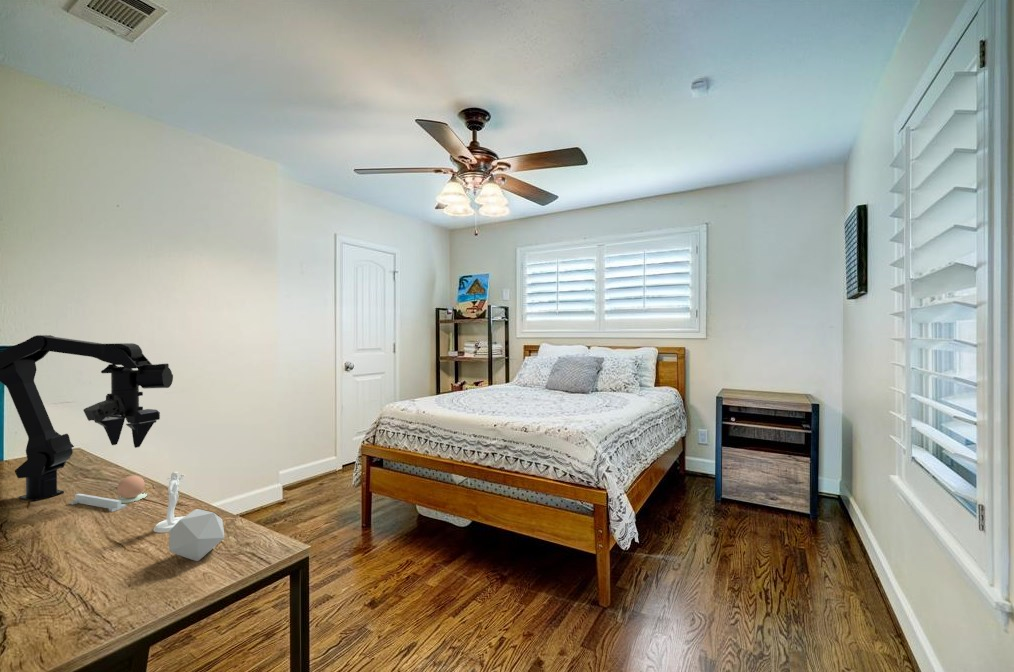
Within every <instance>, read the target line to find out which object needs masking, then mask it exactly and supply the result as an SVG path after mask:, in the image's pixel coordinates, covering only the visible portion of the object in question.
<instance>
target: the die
mask: <svg viewBox="0 0 1014 672" xmlns="http://www.w3.org/2000/svg"><path fill="white" fill-rule="evenodd" d="M224 530H225V529H224V522H223V519H222V518H221V517H220V516H218V514H216V513H215V512H212V511H209V510H203V509H200V508H196V509H194V510H192V511H191V512H190V513H188V514H186V515H185V517H183V518H182V519H180V520H179V521H178V522H177V523H176V525H175V526H174V527H173V528H172V529H171V530H170V531H169V532H168V533H169V536H168V552H170V553H173V554H175V555H178V556H179V557H183V558H185V559H188V560H191V561H195V562H199V561H200V560H201V559H203V558H204V557H205V556H206V555H207V554H208V553H209V552H211V551H212V550H213V549H214V548H216V546H217V545H218V544H219V543H220V542H221V541H223V540H224V539H225V531H224Z"/></svg>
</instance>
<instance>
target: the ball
mask: <svg viewBox="0 0 1014 672" xmlns="http://www.w3.org/2000/svg"><path fill="white" fill-rule="evenodd" d="M145 488H146V483H145V480H144V479H143V477H141V476H138V475H130V476H127V477H125V478H123V479H122V480H121V481H120V482H118V485H117V487H116V491H117V494H118V495H119V496H120V497H123V498H133V497H136V496H138V495H139V494H141V493H143V491H144V490H145Z"/></svg>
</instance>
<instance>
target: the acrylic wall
mask: <svg viewBox="0 0 1014 672" xmlns="http://www.w3.org/2000/svg"><path fill="white" fill-rule="evenodd" d="M74 497H75V498H74V500H71V501H69V504H70V505H73V506H74V505H76V504H81V505H89V506H92V507H93V506H94V507H98V508H105V509H108V512H111V513H113V512H116V511H119V510H122V509H125V508H127V504H126V503H122V504H121V501H120V500H116V498H115V499H114V498H109V497H108V498H107V497H103V496H96V495H91V494H83V493H76V494H75V495H74Z"/></svg>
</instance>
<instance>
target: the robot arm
mask: <svg viewBox="0 0 1014 672" xmlns="http://www.w3.org/2000/svg"><path fill="white" fill-rule="evenodd" d="M49 352H52V353H53V352H54V353H60V354H69V355H76V356H77V355H78V356H82V357H91V358H95V359H98V360H99V361H101V362H104V363H107V364H108V365H107V366H106V367H105V368H104V369H102V370H101V371H100V373H101V374H110V379H111V380H110V382H111V383H110V388H111V389H110V390H111V391H110V393H106V396H105V400H102V401H100V402H99V401H98V402H96V403H95V404H92V405H90V406H88V407H86V408H84V409H82V410H83V412H84V415H85V417H86V419H87V420H88V421H89V422H91V421H93V422H94V423H96V424H98V425H100V426H102V427H103V429H104V430H105V432H106V435H107V437H108V439H109V442H110V444H111V446H116V445H118V443H119V441H120V436H121V433H122V430H123V428H124V427H123V426H124V423H125V420H126V422H127V423H126V424H125V426H126V427H128V428H130V429H131V434H132V442H133V446H134V448H135V449H136V448H140V447H141V445H142V443H143V442H144V440H145V439H146V436H147V435H148V434H149V433H148V432H149V431H150V430H151V429H152V427H153V426H154V424H155V423H156V422H157V421H159V420H161V415H160V414H161V413H160V411H159V410H158V409H155V408H154V409H151V408H145V409H144V408H143V406H140V396H143V395H144V392H143V391H140V387H141V388H142V389H168V388H170V387H171V386H172V385H173V384H172V383H173V382H174V381H173V380H174V374H173V372H172V370H171V368H170V365H169V363H158V364H157V363H156V364H155V363H154V364H152V363H151V361H150V360H149V359H148V358H147V357H146V356H145V355H144V353H143V349H142V348H141V347H140V346H139V345H138V344H136V343H132V342H131V343H125V342H124V343H123V342H121V343H119V342H118V343H117V342H116V343H102V342H101V343H99V342H94V341H86V340H79V339H72V338H67V337H59V336H58V337H57V336H53V335H48V334H47V335H46V334H44V335H43V334H42V335H41V334H40V335H39V334H37V335H34V336H31V337H30V338H29V339H26V340H25V341H21V342H20V343H17V344H15V345H12V346H9V347H7V348H5V349H3V350H0V383H1V384H2V385H3V386H5V387H6V388H7V390H8V392H9V395H10V398H11V400H12V402H13V405H14V407H15V409H16V412H17V414H18V417H19V419H20V421H21V424H22V426H23V428H24V431H25V432H26V436H27V437H28V440H27V443H26V447H25V454H26V460H25V461H24V462H23V463H21V464H20V465H19V466H18V467H17V468H16V469H14V473H15V475H16V477H17V478H18V479H25V494H24V495H20V496H18V499H19V500H24V501H31V502H36V501H38V500H43V499H47V498H50V497H54V496H58V495H61V494H64V493H65V490H61V489H58V470H59V469H63V468H65V466H66V463H67V462H68V460H70V458H71V456H72V455H73V448H74V447H75V445H73V444H72V442H71V439H70V438H71V437H70V435H69V434H68V433H64V434H60V433H59V432H58V431H56V430H55V429H54V427H53V426H54V425H53V423H52V422H51V419H50V417H49V415H48V411H47V409H46V407H45V405H44V402H43V400H42V397H41V395H40V393H39V390H38V388H37V386H36V382H35V378H36V377H35V376H36V375H37V374H36V373H37V365H36V363H37V362H39V361H40V360H42V359H43V358H45V357H46V356H47V354H48V353H49Z"/></svg>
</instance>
